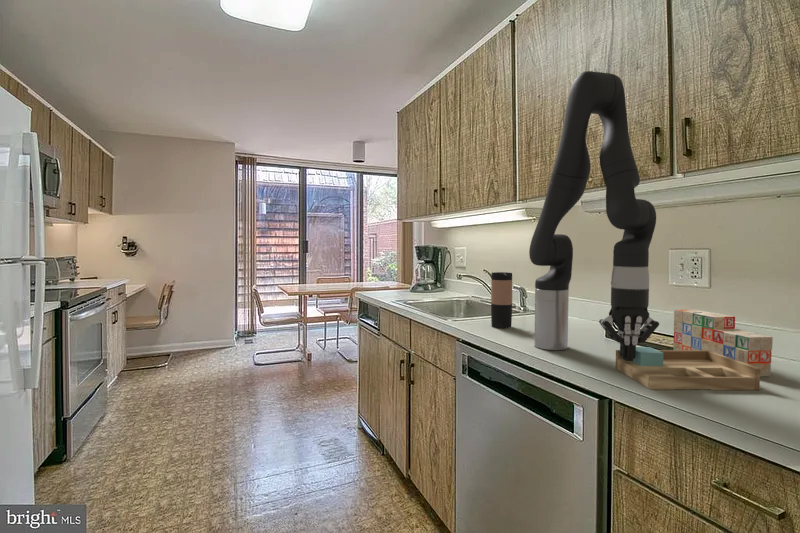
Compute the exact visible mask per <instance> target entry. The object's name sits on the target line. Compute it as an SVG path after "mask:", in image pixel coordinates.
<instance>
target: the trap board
mask: <svg viewBox="0 0 800 533" xmlns="http://www.w3.org/2000/svg"><path fill="white" fill-rule="evenodd" d="M657 350H658V351H660V352H663V353H664V354H663V366H640V365H638V364H636V363H634V362H632V361H625V360H623V359H622V357H621V356H620V349H616V350H615V370H618V371H619V372H621V373H623V374H624V375H626V376H628V378H631V379H633V380H634V381H636V382H638V383H639V384H641V385H643V386H644V387H646V388H648V389H649V390H675V389H711V390H714V391H715V390H716V391H726V390H727V391H760V386H761V385H760V384H761V383H760V382H761V380H760V379H761V376H760V368H757V367H755V366H752V365H749V364H746V363H743V362H740V361H737V360H735V359H732V358H729V357H726V356H723V355H720V354H718V353H715V352H712V351H709V350H674V349H669V350H667V349H657ZM711 390H710V391H711Z"/></svg>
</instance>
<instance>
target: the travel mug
mask: <svg viewBox="0 0 800 533" xmlns="http://www.w3.org/2000/svg"><path fill="white" fill-rule="evenodd" d="M490 279H491V280H490V282H491V283H490V284H491V289H490V314H491V315H490V316H491V320H490V321H491V327H492V328H495V329H510V328H512V318H513V273H512V272H506V271H503V272H502V271H500V272H499V271H497V272H491V278H490Z"/></svg>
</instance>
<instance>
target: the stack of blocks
mask: <svg viewBox="0 0 800 533" xmlns="http://www.w3.org/2000/svg"><path fill="white" fill-rule="evenodd" d="M673 316H674V317H673V350H709V351H712V352H715V353H718V354H720V355H723V356H726V357H729V358H732V359H735V360H737V361H740V362H743V363H746V364H749V365H752V366H755V367H757V368H760V377H771V374H772V373H771V372H772V371H771V368H772V367H771V366H772V353H773V352H772V350H773V339H774V337H773V336H772V335H766V334H761V333H757V332H753V331H748V330H745V329H744V330H742V329H739V328H735V327H736V316H735V315H734V316H733V315H728V314H722V313H718V312H712V311H705V310H701V309H700V310H699V309H695V308H693V309H674V310H673Z"/></svg>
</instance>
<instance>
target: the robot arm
mask: <svg viewBox="0 0 800 533" xmlns="http://www.w3.org/2000/svg"><path fill="white" fill-rule="evenodd" d="M592 114H594V115H597V116H598V117H599V119H600V121H601V124H602V126H603V127H602V128H603V141H602V144H601V147H600V151H599V165H600V167H599V168H600V170H601V174H602V177H603V181H604V185H605V188H606V189H605V212H606V217H607V219H608V221H609V222H610V224H611V226H612V227H614V228H616V229H618V230H623V235H622V238H621V240H619V241H617V242H616V243H615V244H614V245H613V253H612V254H613V256H612V260H613V261H612V271H611V276H610V277H611V279H610V280H611V281H610V286H611V287H610V310H609V312H608V316H606V317H605V318H602V319H599V321H598V323H599V325H600V326H601V327H602V328H603V329H604V331H605V332H606V334H607V335H608V336H609V337H610V338H611V340H613V341H614V342H617V343H619V350H620V356H621V357H622V359H623V360H625V361H633V359H635V357H636V347H637V345H638V344H644V343H645V342H647V340H648V339H649V338H650V337H651V335H652V334H654V332H655V330H656V329H658V327H659V326H660V323H659V322H660V321H657V320H654V319H653V318H652V317H650V312H649V310H648V307H649V303H650V301H649V300H650V297H649V296H650V272H649V271H650V270H649V262H650V261H649V260H650V258H649V255H650V253H649V250H650V249H649V248H650V245H651V243H652V239H653V236H654V233H655V232H654V231H655V230H656V224H657V212H656V208H655V207H654V205H653V204H652V203H651V202H650V201H649V200H646V199H641V198H637V197H636V193H635V188H637V187H638V186H639V185H640V181H641V177H640V174H639V173H640V172H639V170H638V167H637V163H636V159H635V157H634V153H633V149H632V146H631V141H630V140H631V139H630V133H629V125H628V113H627V105H626V94H625V88H624V84H623V81H622V79H621V78H620V76H618V75H617V74H614V73H609V72H601V71H591V70H587V71H583V72H581V73H580V74H578V75H577V76H576V78H575V79H574V80H573V82H572V84H571V86H570V89H569V92H568V96H567V102H566V107H565V113H564V120H563V126H562V131H561V136H560V140H559V145H558V149H557V154H556V158H555V161H554V164H553V167H552V171H551V174H550V178H549V184H548V186H547V192H546V195H545V199H544V203H543V206H542V209H541V213H540V215H539V219H538V220H537V224H536V227H535V229H534V232H533V234H532V238H531V240H530V246H529V252H528V253H529V260H530V262H531V263H532V264H533V265H535V266H539V267H540V266H541V267H549V269H548V271H547V272H546V273H545V274H544V275H542V276H540V277H538V278H536V279H535V282H534V347H536V348H537V349H542V350H549V351H563V350H567V349H568V346H569V344H568V343H569V342H568V341H569V302H570V300H569V298H570V297H569V294H570V293H569V292H570V290H569V288H570V283H571V280H572V274H573V273H572V271H573V259H574V248H573V246H574V245H573V243H572V240H571V237H569V236H568V235H567V234H558V233H556V232H557V228H558V226H559V224H560V222H561V221H562V220H563V219H564V217H565V216H566V215H567V214H568V213H569V212H570V210H571V209H572V208H573V207H575V205H576V204H577V203H578V202H579V201H580V199H582V197H583V195H584V193H585V190H586V186H587V183H588V182H589V181H588V180H589V177H590V173H591V168H592V166H591V164H592V163H591V159H590V154H589V149H588V146H587V140H586V139H587V130H588V125H589V121H590V117H591V115H592ZM614 325H615V326H616V328H617V330H616V328H614Z"/></svg>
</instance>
